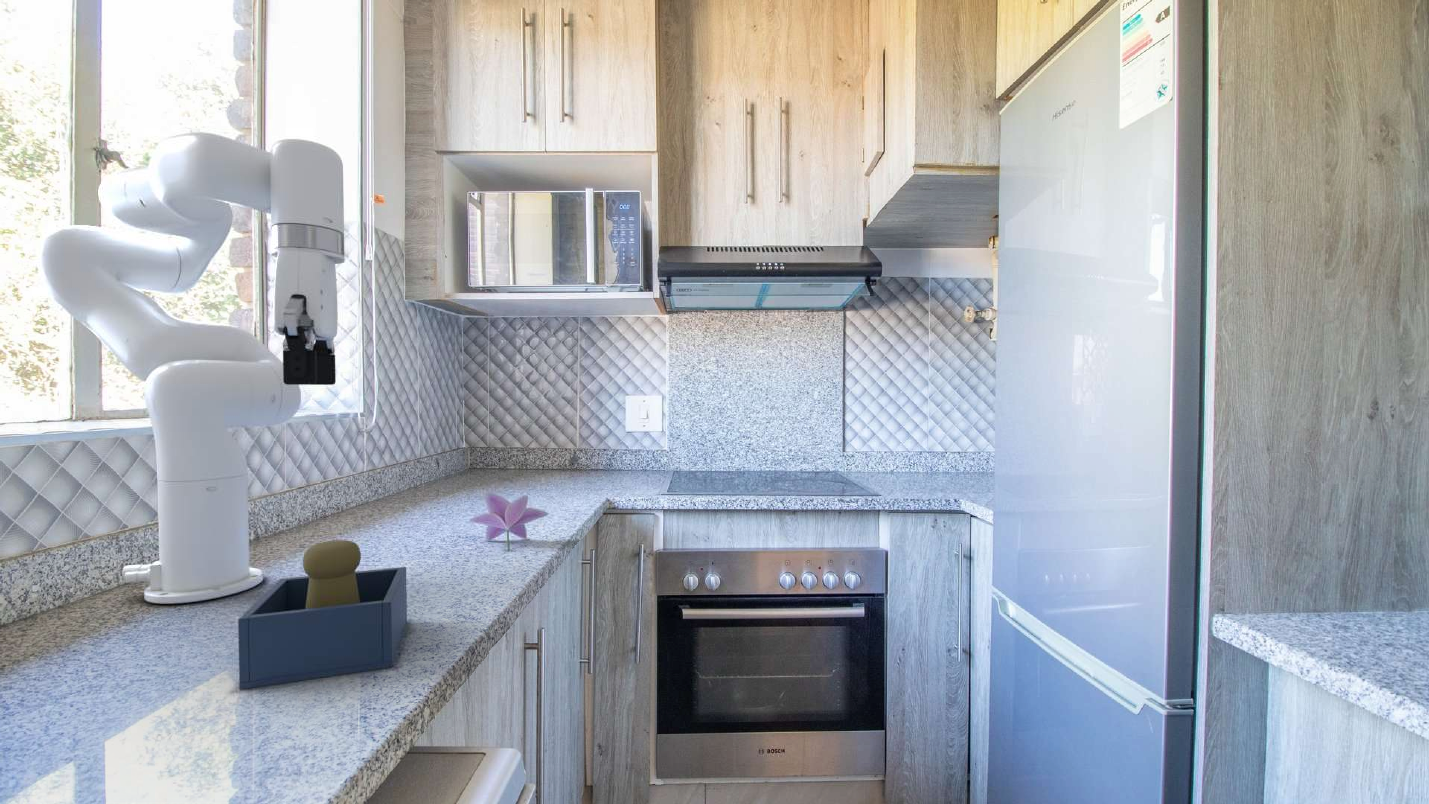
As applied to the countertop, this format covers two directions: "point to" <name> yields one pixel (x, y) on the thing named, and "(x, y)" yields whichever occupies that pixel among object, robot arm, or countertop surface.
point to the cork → (332, 573)
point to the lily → (507, 516)
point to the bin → (322, 631)
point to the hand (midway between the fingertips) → (311, 384)
